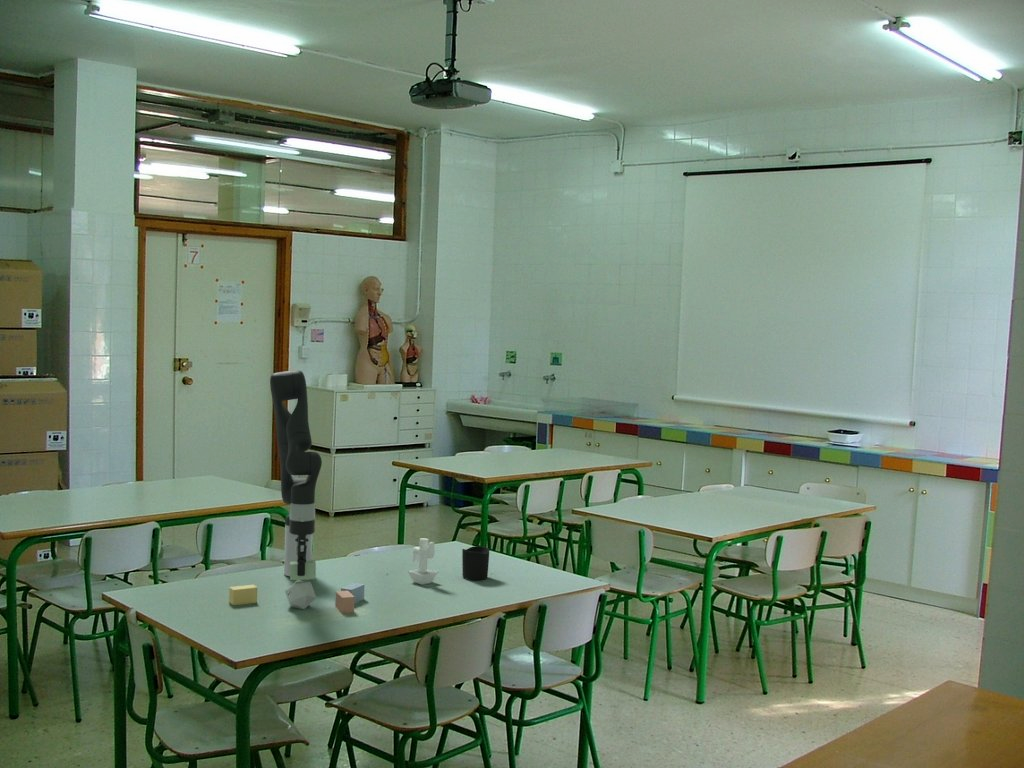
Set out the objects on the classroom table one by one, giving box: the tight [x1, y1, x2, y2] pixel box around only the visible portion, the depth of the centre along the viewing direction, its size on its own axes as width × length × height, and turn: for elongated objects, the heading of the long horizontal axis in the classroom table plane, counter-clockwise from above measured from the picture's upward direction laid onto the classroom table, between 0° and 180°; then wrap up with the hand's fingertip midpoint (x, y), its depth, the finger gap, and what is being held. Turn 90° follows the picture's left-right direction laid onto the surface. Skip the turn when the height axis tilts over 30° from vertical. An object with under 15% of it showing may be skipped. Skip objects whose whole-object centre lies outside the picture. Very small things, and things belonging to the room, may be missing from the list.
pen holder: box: [461, 545, 490, 581], centre depth 347 cm, size 9×9×10 cm
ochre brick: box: [228, 584, 258, 606], centre depth 306 cm, size 4×8×5 cm, turn 123°
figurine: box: [407, 537, 439, 586], centre depth 338 cm, size 7×9×15 cm
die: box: [284, 580, 317, 610], centre depth 303 cm, size 8×9×10 cm
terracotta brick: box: [334, 590, 355, 614], centre depth 302 cm, size 4×8×5 cm, turn 25°
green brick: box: [289, 559, 317, 581], centre depth 303 cm, size 4×8×5 cm, turn 103°
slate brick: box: [340, 582, 366, 604], centre depth 312 cm, size 4×8×5 cm, turn 156°
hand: (300, 573), depth 303 cm, fingers closed on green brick, 3 cm apart
